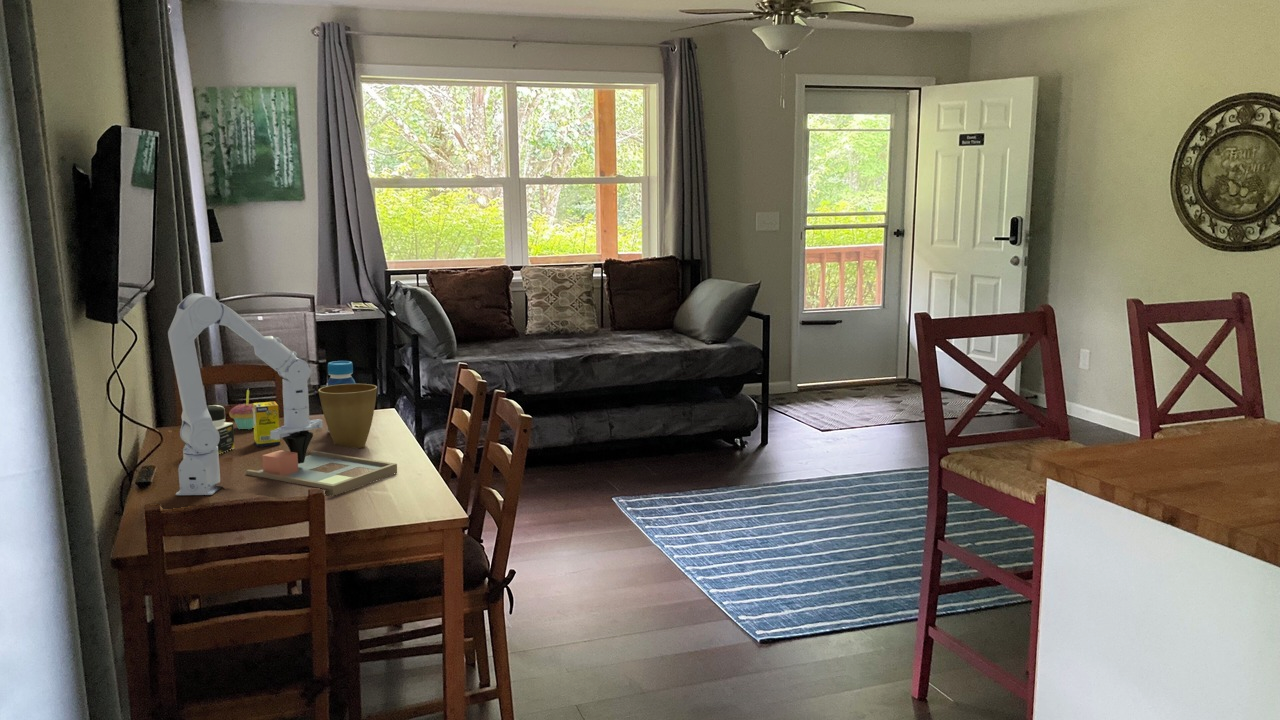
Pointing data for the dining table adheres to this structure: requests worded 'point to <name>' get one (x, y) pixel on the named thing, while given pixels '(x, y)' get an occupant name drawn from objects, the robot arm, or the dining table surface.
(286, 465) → the block
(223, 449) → the medicine bottle
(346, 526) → the dining table surface
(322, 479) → the shallow rimmed tray
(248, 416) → the cupcake
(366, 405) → the plant pot
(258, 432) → the supplement box
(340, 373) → the beverage bottle
